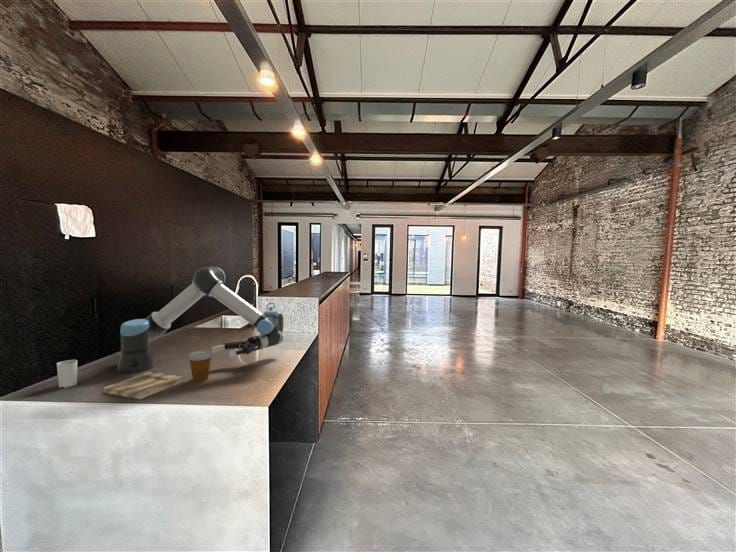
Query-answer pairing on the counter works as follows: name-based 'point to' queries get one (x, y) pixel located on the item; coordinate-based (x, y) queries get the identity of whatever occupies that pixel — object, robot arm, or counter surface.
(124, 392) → the birch board
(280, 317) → the tabletop clock
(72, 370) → the drinking glass
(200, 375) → the disposable coffee cup
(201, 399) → the counter surface
